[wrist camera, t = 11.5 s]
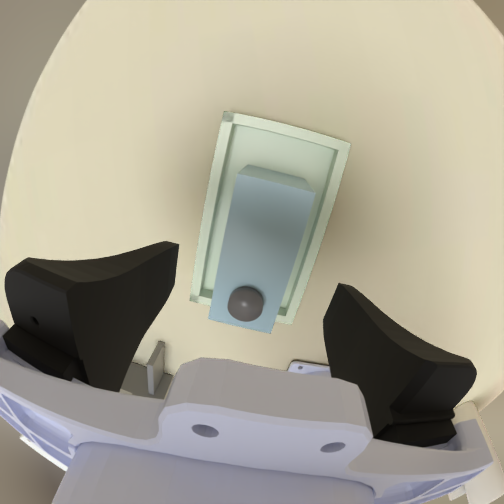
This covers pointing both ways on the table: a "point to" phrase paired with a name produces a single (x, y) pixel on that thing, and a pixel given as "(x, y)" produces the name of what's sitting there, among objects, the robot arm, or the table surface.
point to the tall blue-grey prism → (259, 247)
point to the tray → (277, 159)
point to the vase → (492, 478)
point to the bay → (148, 377)
